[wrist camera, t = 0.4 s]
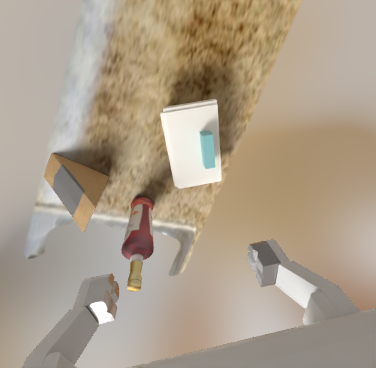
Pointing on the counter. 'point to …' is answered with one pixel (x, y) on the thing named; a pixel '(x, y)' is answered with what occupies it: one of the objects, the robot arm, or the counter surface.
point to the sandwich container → (75, 187)
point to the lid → (193, 142)
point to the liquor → (138, 239)
